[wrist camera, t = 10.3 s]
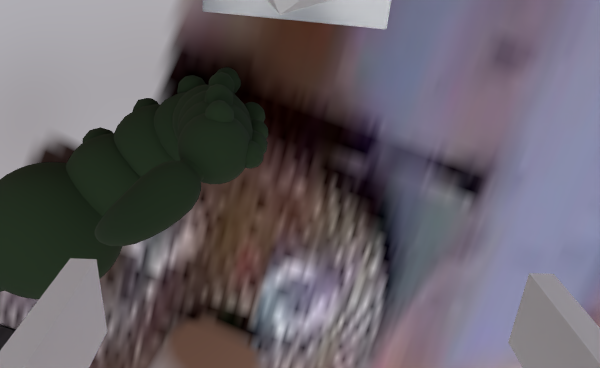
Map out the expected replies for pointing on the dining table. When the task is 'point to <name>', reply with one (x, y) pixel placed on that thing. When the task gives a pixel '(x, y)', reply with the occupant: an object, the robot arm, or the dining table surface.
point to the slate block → (312, 11)
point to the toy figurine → (125, 181)
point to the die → (292, 4)
